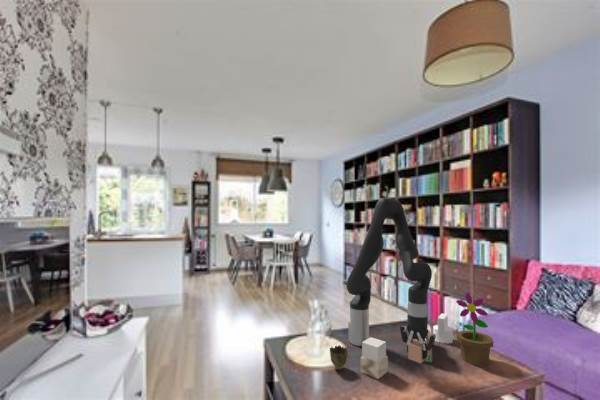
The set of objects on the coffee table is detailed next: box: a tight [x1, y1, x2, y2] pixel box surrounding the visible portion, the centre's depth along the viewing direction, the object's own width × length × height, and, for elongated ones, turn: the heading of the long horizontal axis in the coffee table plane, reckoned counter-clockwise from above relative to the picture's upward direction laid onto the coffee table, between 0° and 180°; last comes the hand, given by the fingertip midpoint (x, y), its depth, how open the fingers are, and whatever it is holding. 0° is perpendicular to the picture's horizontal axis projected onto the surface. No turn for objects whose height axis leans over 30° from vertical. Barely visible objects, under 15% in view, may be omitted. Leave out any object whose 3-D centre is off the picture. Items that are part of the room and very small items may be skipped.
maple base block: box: [359, 355, 389, 380], centre depth 129 cm, size 8×8×6 cm
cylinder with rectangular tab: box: [432, 313, 454, 345], centre depth 161 cm, size 9×9×12 cm
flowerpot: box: [455, 292, 494, 367], centre depth 139 cm, size 14×14×30 cm
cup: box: [329, 345, 348, 371], centre depth 132 cm, size 8×7×8 cm
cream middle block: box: [361, 336, 387, 363], centre depth 129 cm, size 7×7×6 cm
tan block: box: [407, 339, 424, 364], centre depth 125 cm, size 5×5×6 cm
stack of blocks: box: [414, 324, 433, 363], centre depth 148 cm, size 21×6×12 cm, turn 163°
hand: (417, 356), depth 125 cm, fingers closed on tan block, 5 cm apart
